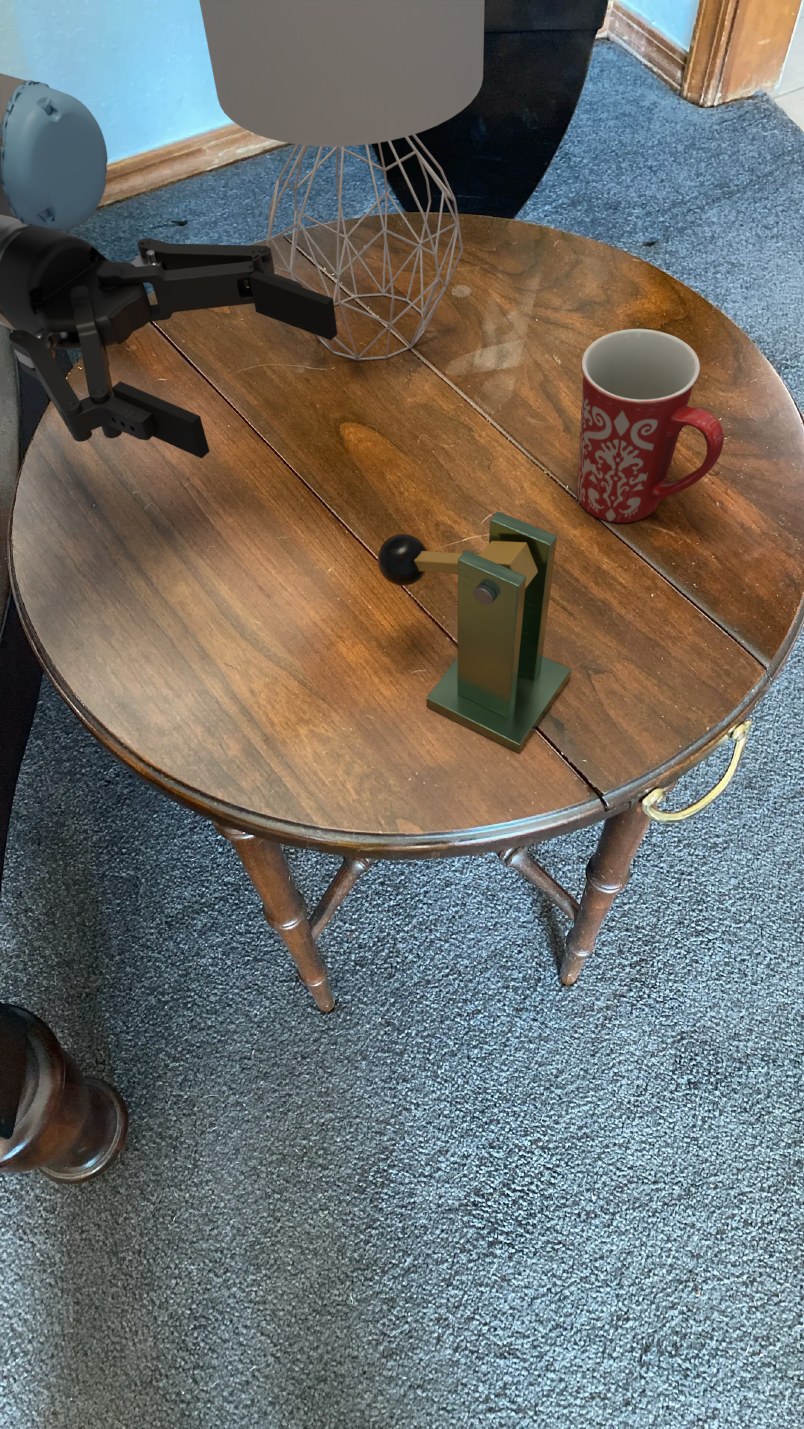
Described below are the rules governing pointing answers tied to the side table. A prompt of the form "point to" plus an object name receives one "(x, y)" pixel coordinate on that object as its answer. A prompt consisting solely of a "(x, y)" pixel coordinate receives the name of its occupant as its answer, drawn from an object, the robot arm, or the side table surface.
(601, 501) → the mug
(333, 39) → the table lamp
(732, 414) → the side table surface
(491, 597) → the switch bracket
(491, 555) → the switch lever
